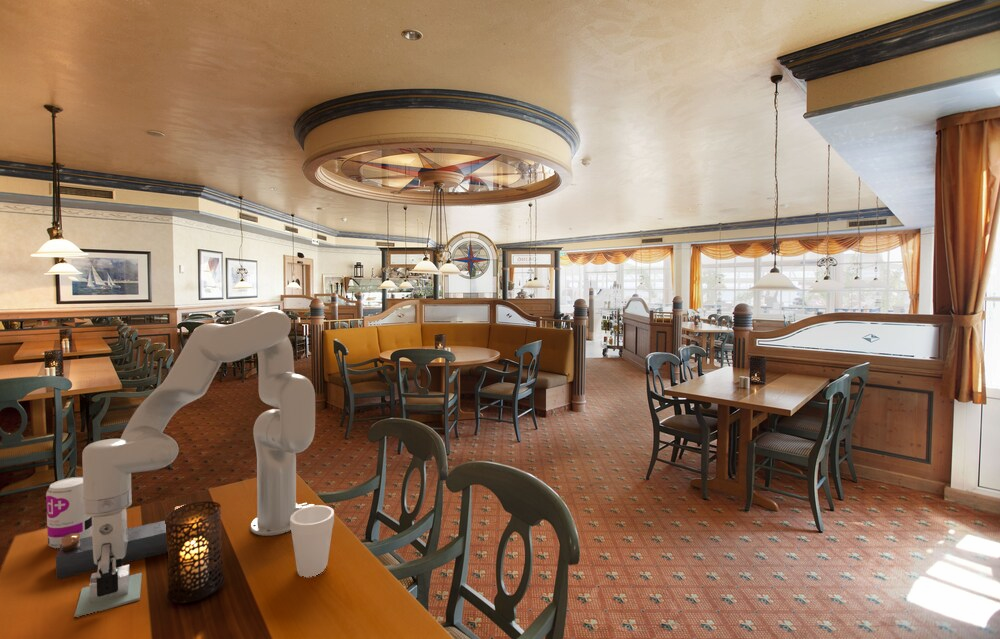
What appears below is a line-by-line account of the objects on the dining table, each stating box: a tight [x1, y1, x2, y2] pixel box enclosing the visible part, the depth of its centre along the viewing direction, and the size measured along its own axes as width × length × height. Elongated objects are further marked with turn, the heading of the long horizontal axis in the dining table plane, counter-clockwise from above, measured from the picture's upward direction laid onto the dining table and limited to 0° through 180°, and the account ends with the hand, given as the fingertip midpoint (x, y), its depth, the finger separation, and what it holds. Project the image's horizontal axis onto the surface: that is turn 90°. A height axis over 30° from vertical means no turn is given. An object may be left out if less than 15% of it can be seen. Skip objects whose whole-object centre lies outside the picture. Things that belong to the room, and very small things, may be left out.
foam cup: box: [290, 504, 335, 578], centre depth 107 cm, size 10×9×13 cm
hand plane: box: [55, 504, 185, 580], centre depth 111 cm, size 24×7×9 cm, turn 126°
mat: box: [73, 572, 143, 617], centre depth 97 cm, size 10×10×1 cm
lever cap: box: [89, 564, 130, 604], centre depth 97 cm, size 6×4×5 cm
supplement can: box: [45, 476, 92, 550], centre depth 116 cm, size 8×8×15 cm
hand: (110, 580), depth 97 cm, fingers open, 9 cm apart
